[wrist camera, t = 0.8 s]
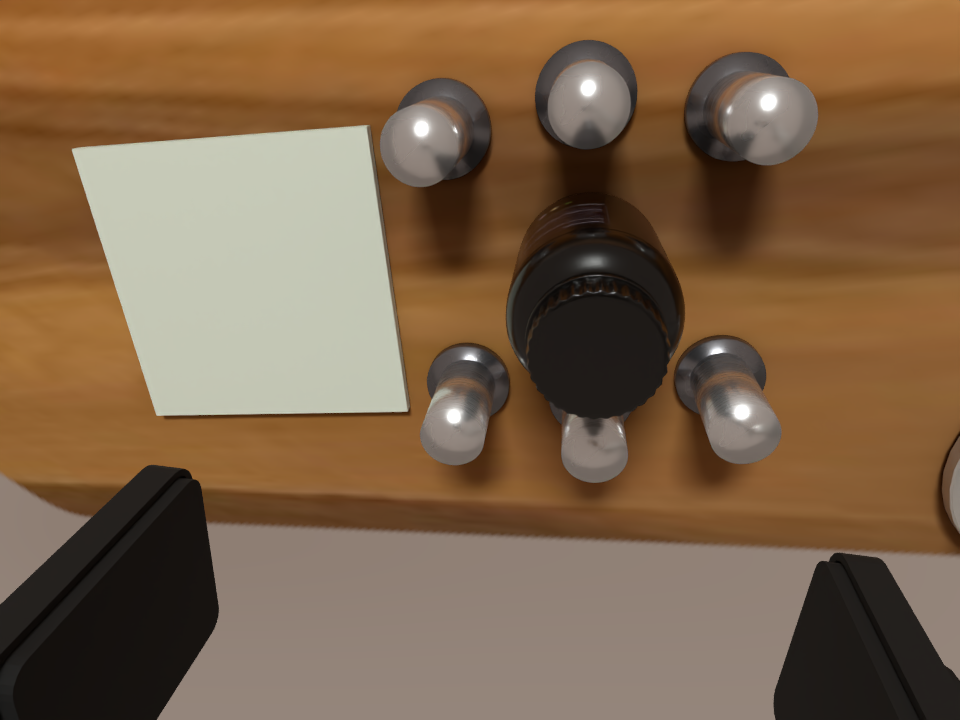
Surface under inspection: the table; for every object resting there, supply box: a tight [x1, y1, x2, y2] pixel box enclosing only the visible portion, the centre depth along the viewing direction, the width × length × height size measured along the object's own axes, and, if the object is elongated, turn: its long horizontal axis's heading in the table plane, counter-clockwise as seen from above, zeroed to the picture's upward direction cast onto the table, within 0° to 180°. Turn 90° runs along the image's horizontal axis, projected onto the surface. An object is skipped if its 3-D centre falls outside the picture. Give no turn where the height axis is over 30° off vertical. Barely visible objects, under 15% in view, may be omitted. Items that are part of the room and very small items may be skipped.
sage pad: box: [72, 125, 410, 416], centre depth 36 cm, size 15×15×1 cm
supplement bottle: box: [506, 192, 685, 420], centre depth 28 cm, size 7×7×12 cm
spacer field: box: [380, 40, 818, 483], centre depth 31 cm, size 17×19×6 cm
